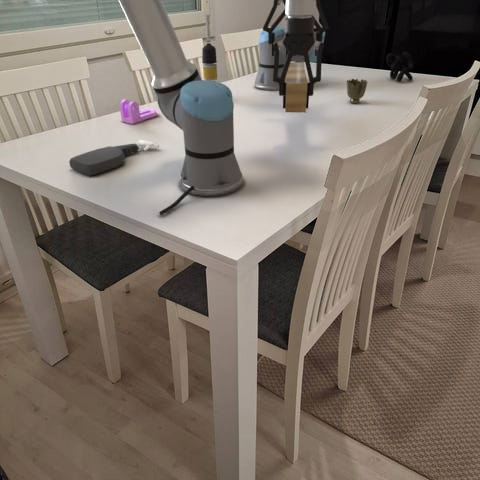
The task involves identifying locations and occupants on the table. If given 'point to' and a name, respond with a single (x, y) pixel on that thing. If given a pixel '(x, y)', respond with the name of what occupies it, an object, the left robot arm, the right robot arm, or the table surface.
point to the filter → (209, 57)
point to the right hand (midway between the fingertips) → (294, 55)
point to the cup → (356, 89)
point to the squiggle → (399, 66)
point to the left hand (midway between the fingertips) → (295, 107)
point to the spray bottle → (106, 157)
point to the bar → (296, 88)
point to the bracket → (134, 112)
